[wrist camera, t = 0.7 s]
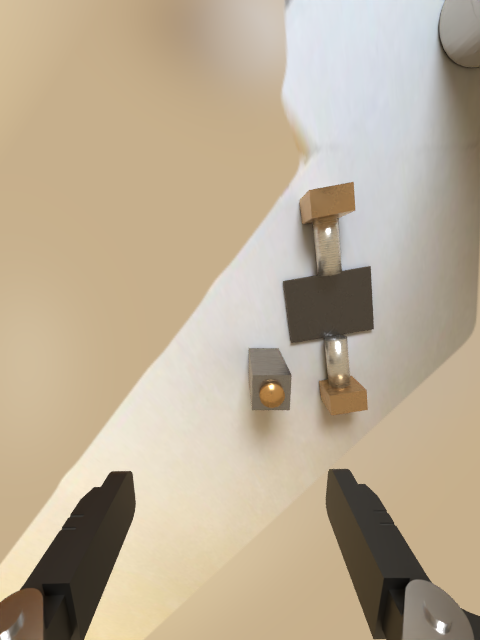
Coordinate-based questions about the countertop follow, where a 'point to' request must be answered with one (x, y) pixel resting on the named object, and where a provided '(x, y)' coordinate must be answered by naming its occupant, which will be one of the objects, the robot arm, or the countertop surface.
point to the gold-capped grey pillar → (269, 380)
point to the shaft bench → (331, 298)
